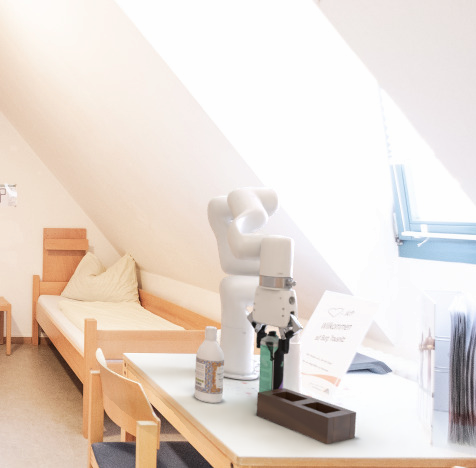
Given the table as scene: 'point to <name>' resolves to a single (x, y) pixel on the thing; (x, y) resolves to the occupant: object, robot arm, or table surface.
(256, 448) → the table surface
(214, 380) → the bath foam
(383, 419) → the table surface
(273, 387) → the spray can
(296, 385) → the cosmetic bottle
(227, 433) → the table surface
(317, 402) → the rack
